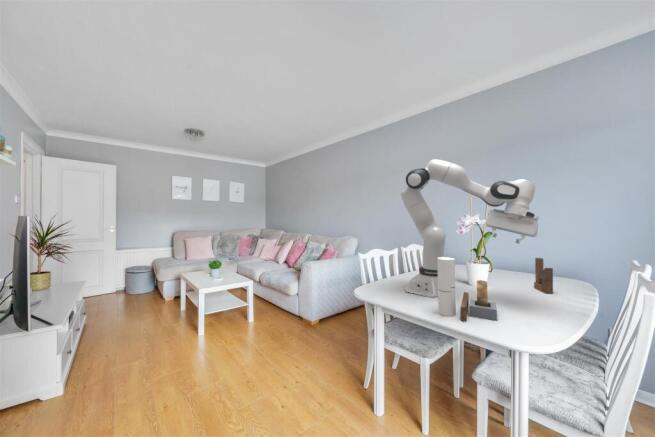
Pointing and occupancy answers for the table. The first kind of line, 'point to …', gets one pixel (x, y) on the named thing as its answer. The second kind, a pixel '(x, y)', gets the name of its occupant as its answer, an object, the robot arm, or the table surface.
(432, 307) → the table surface
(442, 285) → the cylindrical container
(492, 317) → the socket block
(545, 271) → the wooden block
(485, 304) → the brown wooden tall bar
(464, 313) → the rail
